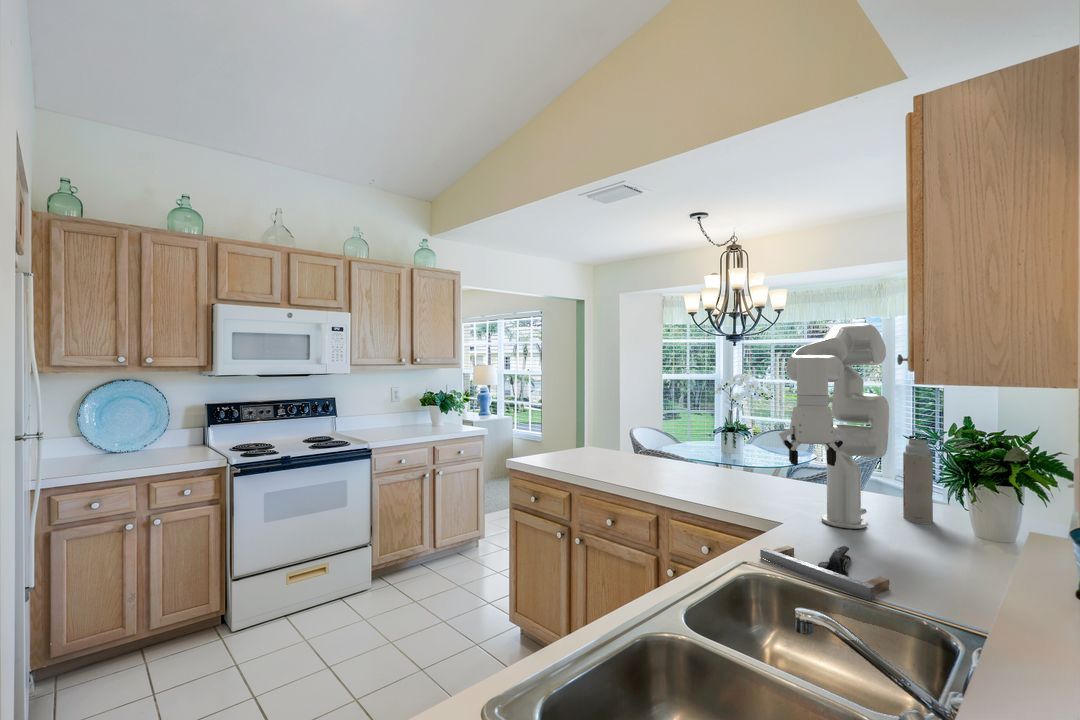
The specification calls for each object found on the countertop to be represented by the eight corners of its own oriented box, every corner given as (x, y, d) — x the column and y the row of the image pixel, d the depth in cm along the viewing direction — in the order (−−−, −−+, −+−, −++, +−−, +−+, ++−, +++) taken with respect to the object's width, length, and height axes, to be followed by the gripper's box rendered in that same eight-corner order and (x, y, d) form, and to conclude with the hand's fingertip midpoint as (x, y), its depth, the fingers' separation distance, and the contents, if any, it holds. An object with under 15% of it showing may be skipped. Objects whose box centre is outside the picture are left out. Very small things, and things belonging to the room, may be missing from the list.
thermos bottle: (899, 520, 176) (899, 435, 176) (907, 515, 181) (907, 433, 181) (928, 525, 170) (928, 438, 170) (936, 521, 175) (935, 436, 175)
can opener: (845, 583, 127) (845, 560, 127) (814, 575, 132) (814, 552, 132) (862, 562, 140) (862, 541, 140) (833, 556, 145) (833, 535, 145)
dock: (784, 553, 146) (784, 542, 146) (893, 591, 122) (893, 578, 122) (760, 560, 141) (760, 549, 141) (869, 601, 117) (869, 588, 117)
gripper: (838, 400, 147) (838, 462, 147) (774, 400, 148) (774, 461, 148) (852, 402, 140) (852, 467, 140) (785, 402, 141) (785, 467, 141)
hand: (812, 464), depth 144 cm, fingers open, 9 cm apart
